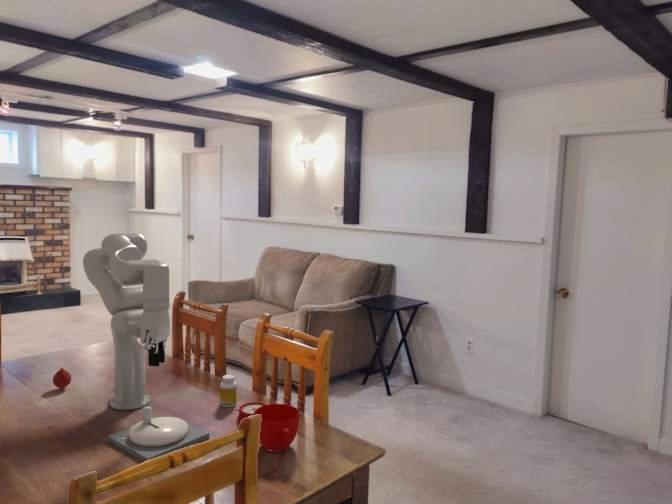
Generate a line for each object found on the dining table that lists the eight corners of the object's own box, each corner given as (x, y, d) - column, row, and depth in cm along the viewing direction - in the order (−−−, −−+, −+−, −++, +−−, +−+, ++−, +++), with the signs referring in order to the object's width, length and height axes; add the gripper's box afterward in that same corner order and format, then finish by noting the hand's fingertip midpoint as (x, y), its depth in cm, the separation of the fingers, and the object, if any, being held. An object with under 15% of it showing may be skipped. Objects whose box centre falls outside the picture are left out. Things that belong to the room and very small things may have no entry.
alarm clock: (252, 399, 174) (284, 401, 165) (255, 418, 174) (287, 421, 165) (227, 408, 166) (259, 411, 157) (230, 428, 166) (262, 432, 156)
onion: (49, 390, 186) (48, 368, 185) (63, 385, 191) (62, 364, 190) (61, 393, 184) (60, 371, 183) (75, 388, 189) (74, 366, 188)
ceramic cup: (263, 468, 137) (264, 431, 136) (247, 440, 152) (248, 407, 151) (310, 459, 142) (311, 424, 141) (290, 433, 158) (291, 401, 157)
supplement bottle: (232, 408, 175) (232, 380, 174) (217, 406, 176) (217, 378, 175) (238, 402, 180) (239, 374, 179) (224, 400, 181) (224, 373, 180)
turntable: (118, 434, 150) (117, 414, 149) (166, 417, 162) (166, 398, 162) (150, 452, 140) (150, 430, 139) (199, 432, 153) (199, 412, 152)
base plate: (107, 441, 150) (107, 435, 150) (168, 418, 165) (168, 413, 165) (147, 464, 138) (147, 458, 137) (209, 437, 153) (209, 432, 153)
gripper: (157, 298, 166) (157, 355, 168) (130, 309, 150) (131, 371, 152) (179, 299, 165) (180, 357, 167) (155, 310, 149) (155, 373, 151)
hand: (156, 363), depth 159 cm, fingers open, 2 cm apart
